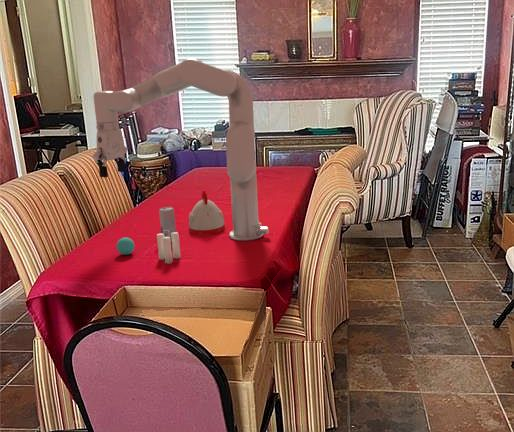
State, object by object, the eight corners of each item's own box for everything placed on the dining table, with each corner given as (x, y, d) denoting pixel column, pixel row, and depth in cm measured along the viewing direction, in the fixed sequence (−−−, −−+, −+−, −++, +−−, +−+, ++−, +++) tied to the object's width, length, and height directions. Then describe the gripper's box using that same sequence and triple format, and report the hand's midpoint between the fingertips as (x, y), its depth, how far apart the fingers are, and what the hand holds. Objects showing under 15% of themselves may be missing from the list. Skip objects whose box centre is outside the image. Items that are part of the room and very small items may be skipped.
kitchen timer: (192, 236, 210) (188, 197, 206) (186, 226, 223) (183, 189, 218) (228, 231, 213) (225, 193, 209) (220, 222, 226) (218, 185, 222)
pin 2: (181, 256, 189) (179, 232, 186) (178, 258, 186) (175, 234, 184) (175, 255, 190) (173, 231, 187) (172, 258, 187) (169, 234, 185)
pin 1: (173, 261, 184) (171, 237, 182) (170, 264, 182) (167, 239, 180) (167, 260, 185) (165, 236, 183) (163, 263, 183) (161, 238, 181)
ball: (138, 252, 195) (136, 235, 193) (128, 258, 190) (126, 241, 188) (124, 250, 197) (122, 234, 196) (114, 256, 192) (111, 239, 190)
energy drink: (169, 236, 210) (166, 205, 207) (179, 238, 207) (176, 207, 204) (159, 240, 206) (155, 209, 203) (168, 242, 203) (165, 211, 200)
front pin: (167, 257, 188) (165, 233, 186) (163, 260, 186) (161, 235, 184) (161, 257, 189) (159, 233, 187) (157, 259, 187) (155, 235, 185)
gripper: (99, 130, 188) (105, 180, 193) (131, 124, 203) (136, 170, 208) (82, 129, 191) (88, 178, 196) (115, 123, 206) (120, 169, 211)
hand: (113, 174), depth 202 cm, fingers open, 9 cm apart
